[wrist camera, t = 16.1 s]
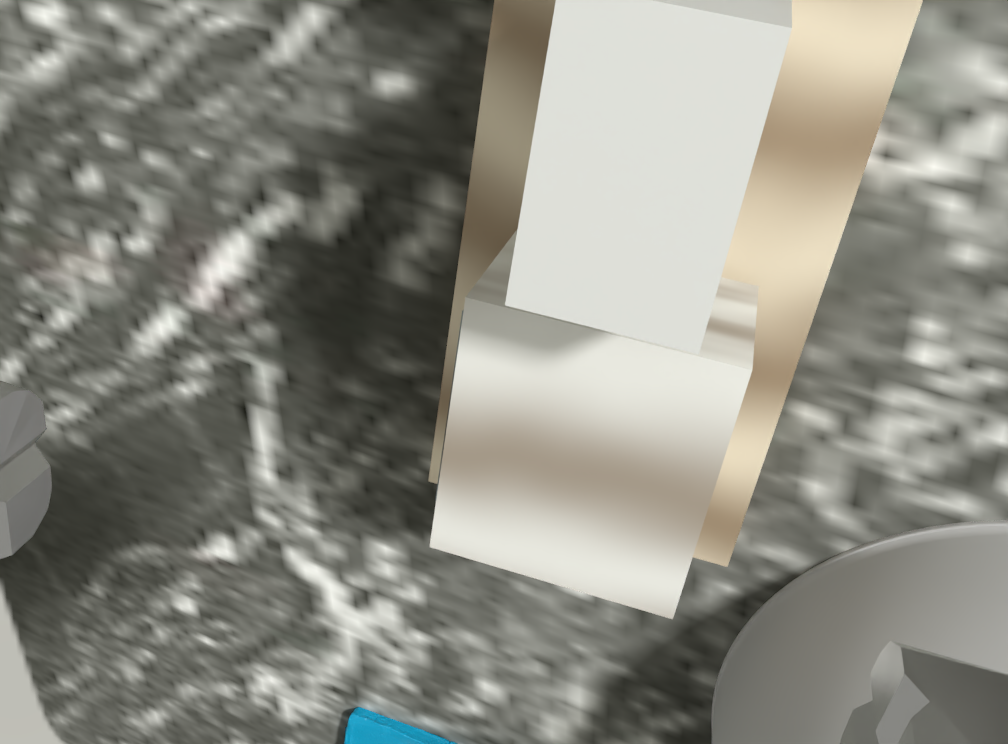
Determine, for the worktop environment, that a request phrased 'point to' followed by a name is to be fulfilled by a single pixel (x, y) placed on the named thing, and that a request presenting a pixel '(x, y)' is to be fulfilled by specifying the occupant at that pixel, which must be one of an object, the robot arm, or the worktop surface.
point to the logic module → (643, 160)
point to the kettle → (862, 630)
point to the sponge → (385, 731)
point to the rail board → (769, 210)
